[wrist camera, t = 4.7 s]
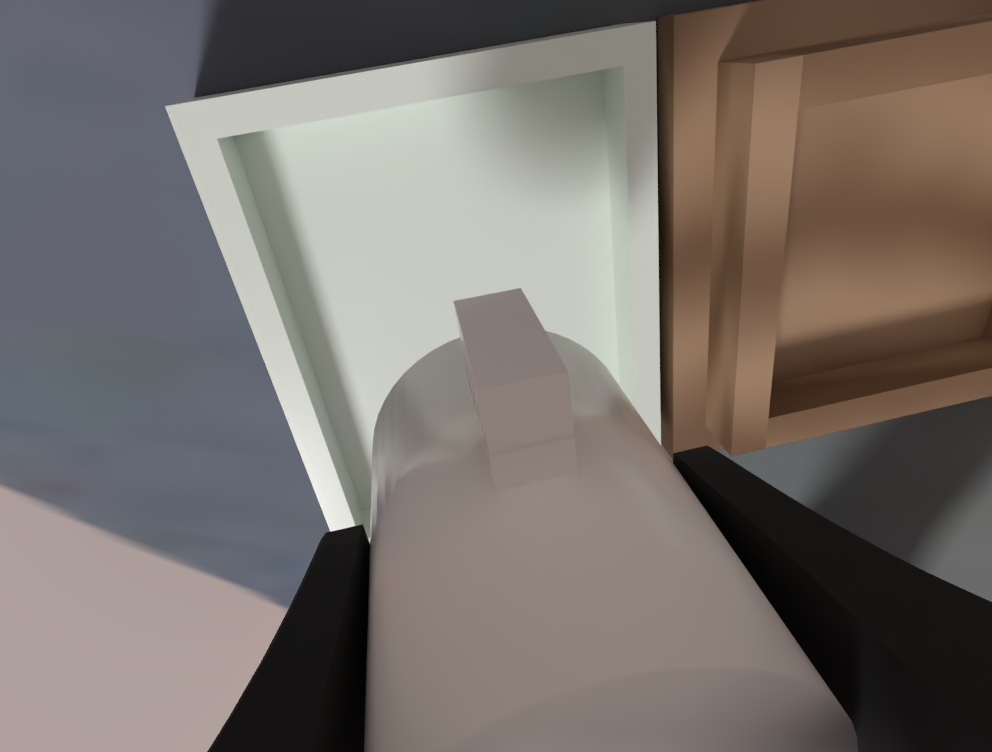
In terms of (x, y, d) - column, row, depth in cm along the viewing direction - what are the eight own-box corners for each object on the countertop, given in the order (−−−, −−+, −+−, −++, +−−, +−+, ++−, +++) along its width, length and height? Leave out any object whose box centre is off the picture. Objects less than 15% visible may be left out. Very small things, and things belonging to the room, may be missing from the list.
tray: (636, 450, 23) (661, 489, 21) (346, 516, 22) (342, 563, 20) (621, 24, 16) (655, 21, 14) (193, 98, 15) (164, 106, 13)
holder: (1001, 367, 24) (1071, 403, 21) (662, 444, 23) (695, 491, 20) (1137, -66, 17) (1265, -84, 14) (657, 17, 16) (707, 12, 13)
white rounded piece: (629, 512, 14) (824, 880, 8) (404, 562, 13) (420, 992, 7) (618, 228, 10) (938, 479, 4) (319, 285, 10) (223, 644, 4)
